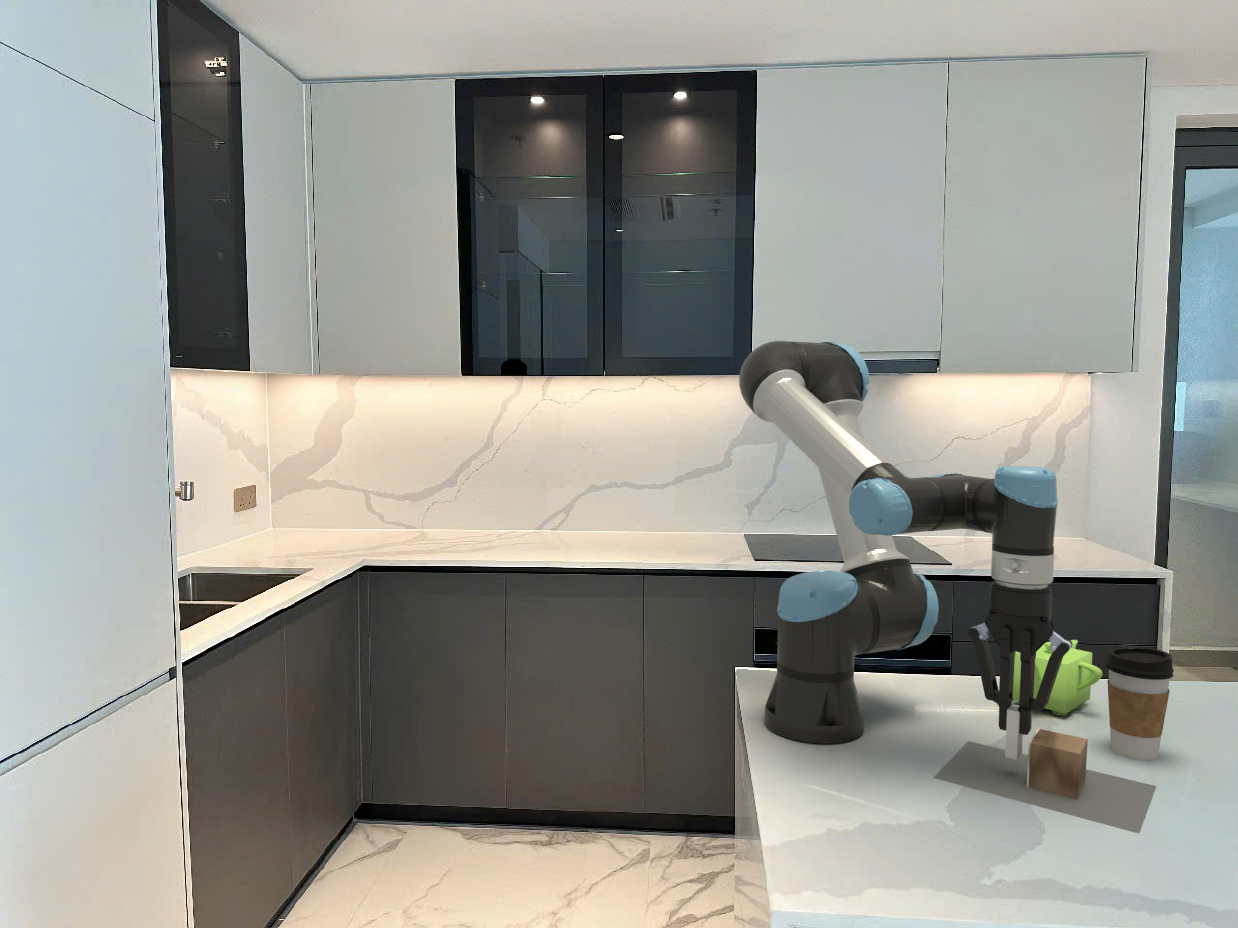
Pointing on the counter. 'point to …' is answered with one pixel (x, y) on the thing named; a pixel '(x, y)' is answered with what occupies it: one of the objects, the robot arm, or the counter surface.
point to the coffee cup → (1137, 700)
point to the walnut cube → (1057, 763)
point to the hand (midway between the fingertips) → (1013, 754)
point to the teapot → (1062, 678)
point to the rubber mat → (1008, 778)
